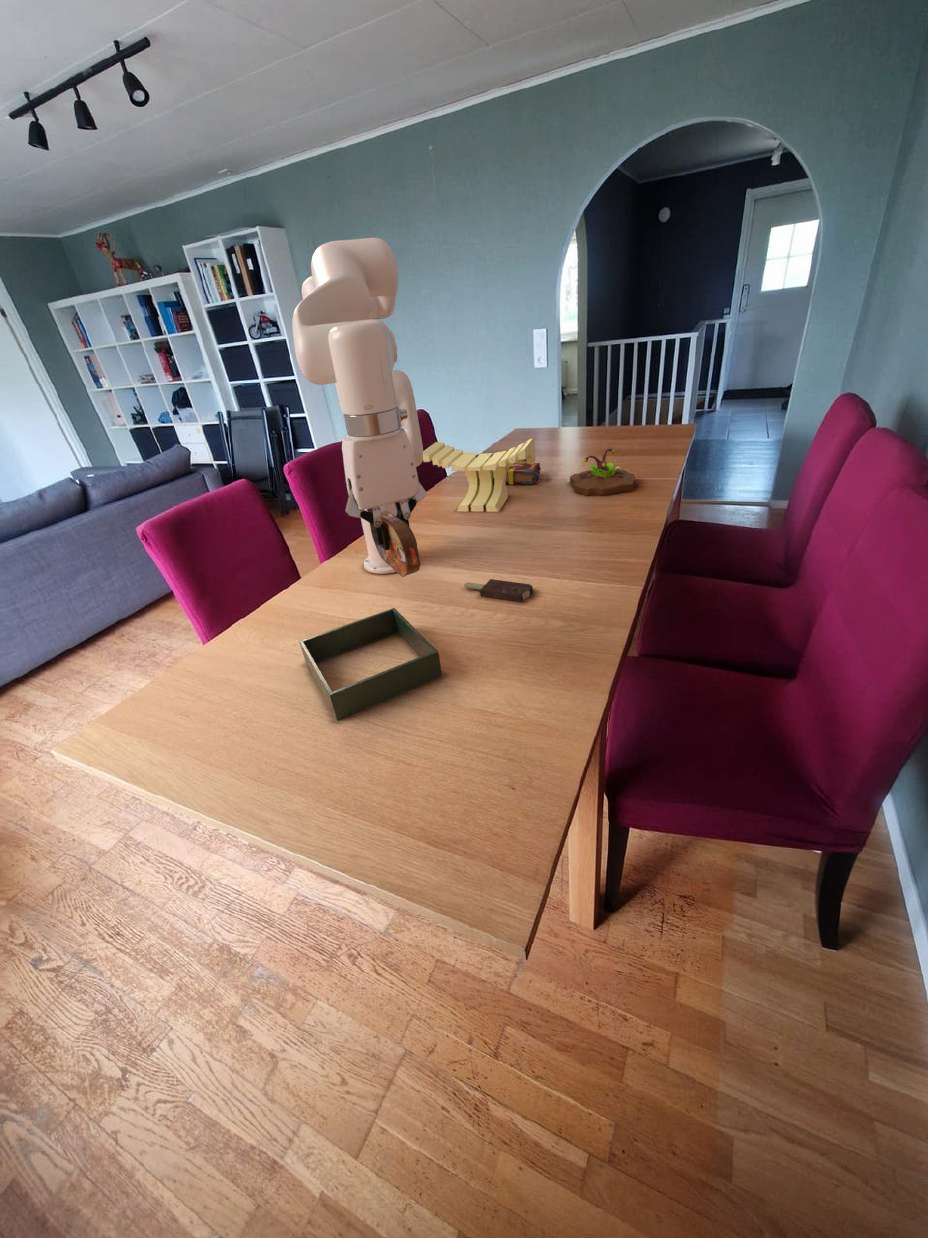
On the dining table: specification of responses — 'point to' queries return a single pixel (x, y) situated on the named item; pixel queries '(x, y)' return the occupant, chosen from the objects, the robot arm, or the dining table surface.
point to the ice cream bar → (503, 590)
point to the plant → (603, 478)
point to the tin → (399, 545)
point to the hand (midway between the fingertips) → (394, 543)
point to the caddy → (381, 683)
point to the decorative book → (523, 473)
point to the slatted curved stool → (481, 472)
